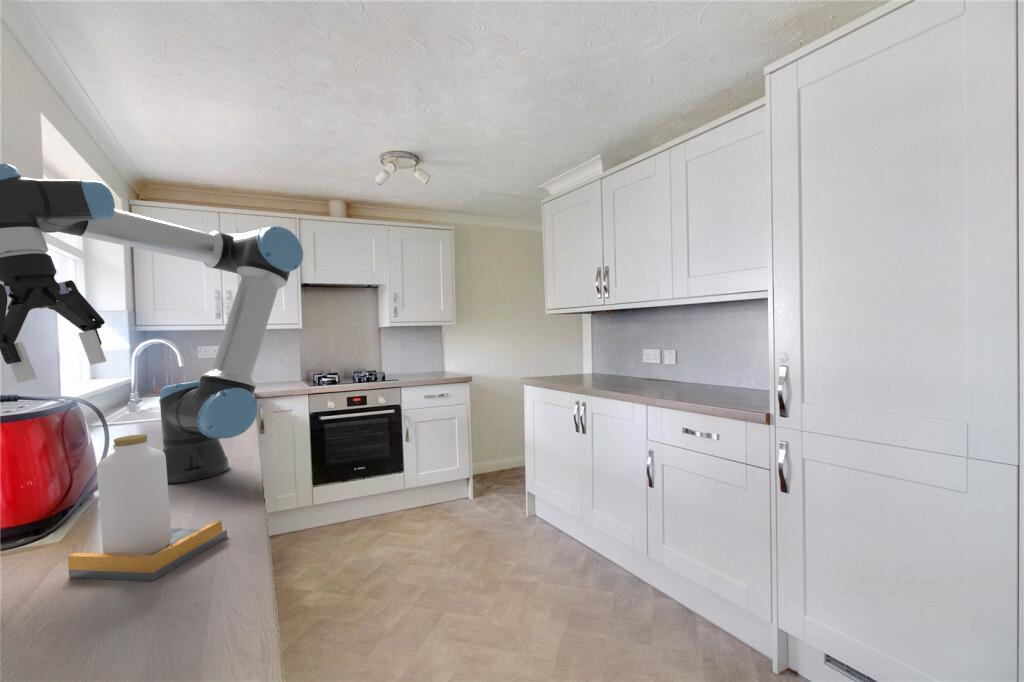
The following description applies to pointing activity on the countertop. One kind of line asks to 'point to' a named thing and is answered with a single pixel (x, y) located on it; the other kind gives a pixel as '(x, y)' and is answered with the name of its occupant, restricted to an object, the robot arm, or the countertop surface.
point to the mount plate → (146, 557)
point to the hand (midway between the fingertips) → (65, 371)
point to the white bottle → (134, 498)
